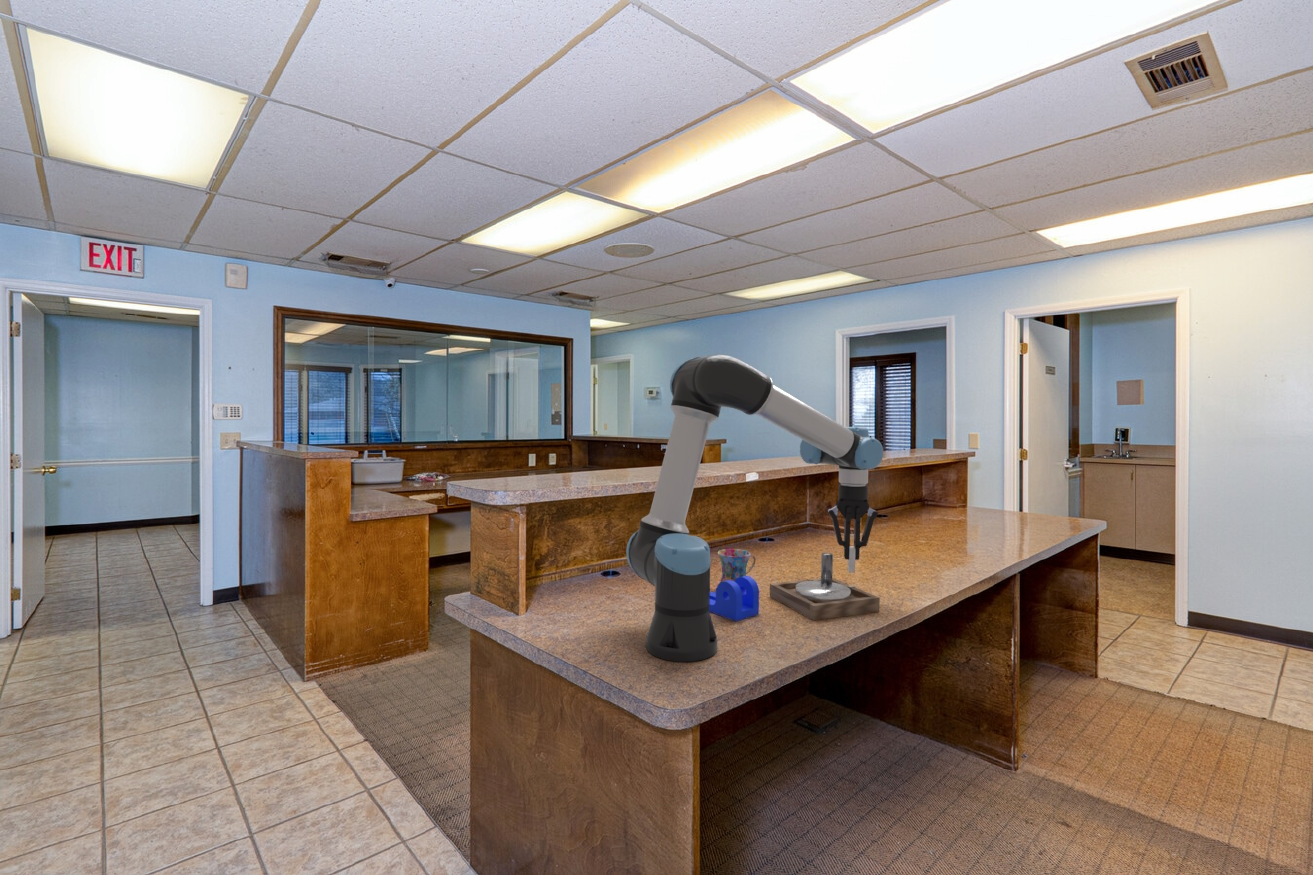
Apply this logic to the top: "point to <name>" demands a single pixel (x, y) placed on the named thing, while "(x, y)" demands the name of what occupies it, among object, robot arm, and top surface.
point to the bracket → (735, 599)
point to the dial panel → (816, 611)
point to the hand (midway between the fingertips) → (851, 571)
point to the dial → (823, 585)
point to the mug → (734, 563)
